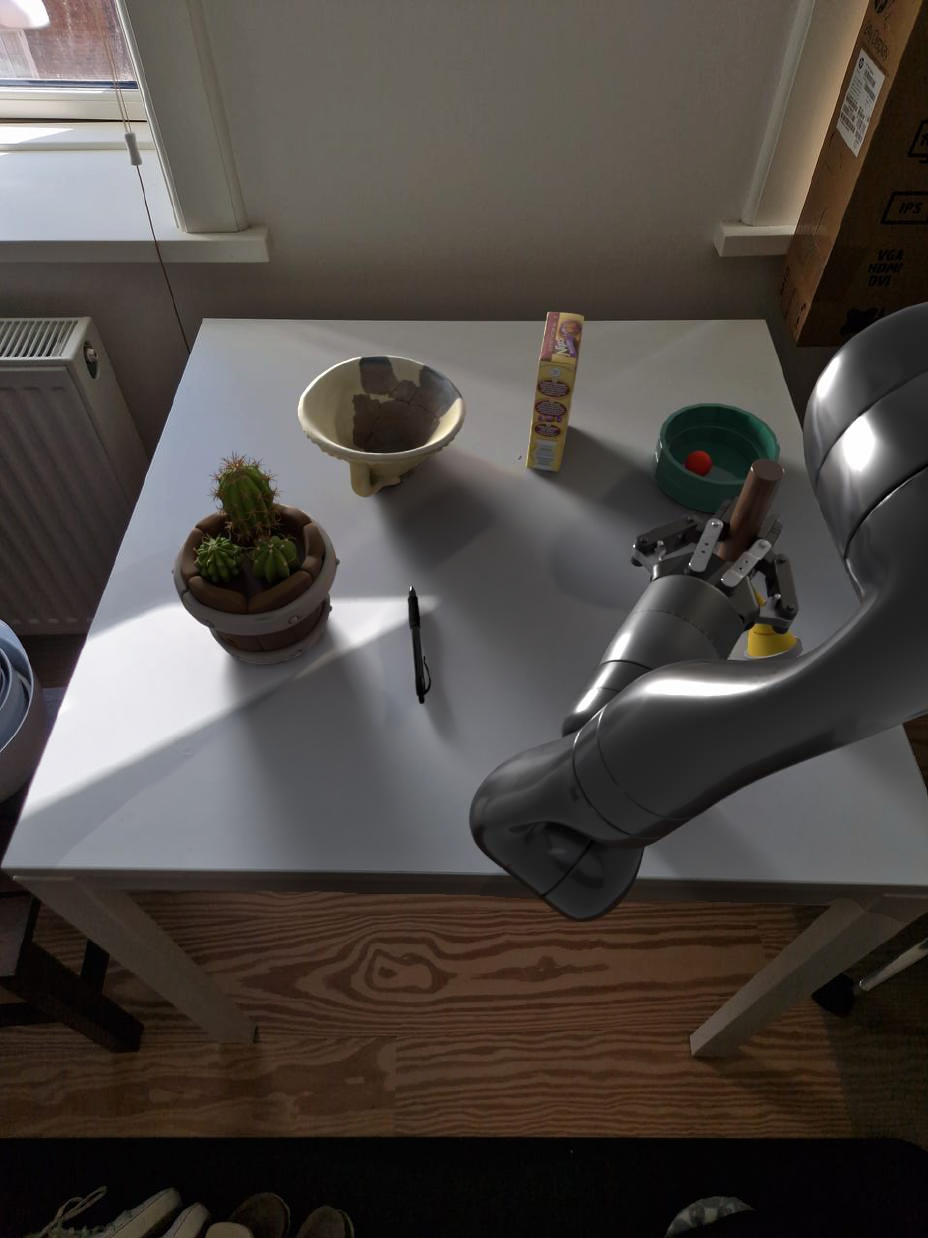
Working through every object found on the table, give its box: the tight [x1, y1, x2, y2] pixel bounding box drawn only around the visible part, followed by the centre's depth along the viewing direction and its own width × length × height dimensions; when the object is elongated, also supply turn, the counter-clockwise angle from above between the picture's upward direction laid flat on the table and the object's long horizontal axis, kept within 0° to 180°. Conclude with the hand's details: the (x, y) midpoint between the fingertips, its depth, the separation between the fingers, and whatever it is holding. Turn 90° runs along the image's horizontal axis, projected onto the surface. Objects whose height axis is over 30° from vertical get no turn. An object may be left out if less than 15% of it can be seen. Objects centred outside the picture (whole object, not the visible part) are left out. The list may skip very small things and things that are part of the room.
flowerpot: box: [171, 450, 341, 665], centre depth 78 cm, size 14×15×20 cm
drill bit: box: [743, 586, 804, 661], centre depth 82 cm, size 5×5×10 cm
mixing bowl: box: [651, 402, 781, 514], centre depth 97 cm, size 13×13×5 cm
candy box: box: [525, 311, 585, 473], centre depth 96 cm, size 9×4×15 cm, turn 170°
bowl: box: [297, 355, 467, 499], centre depth 96 cm, size 18×18×10 cm
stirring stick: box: [716, 459, 785, 562], centre depth 69 cm, size 2×2×17 cm
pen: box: [407, 585, 432, 705], centre depth 84 cm, size 14×2×1 cm, turn 6°
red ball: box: [685, 451, 712, 477], centre depth 97 cm, size 3×3×3 cm
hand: (754, 513), depth 70 cm, fingers closed on stirring stick, 2 cm apart
